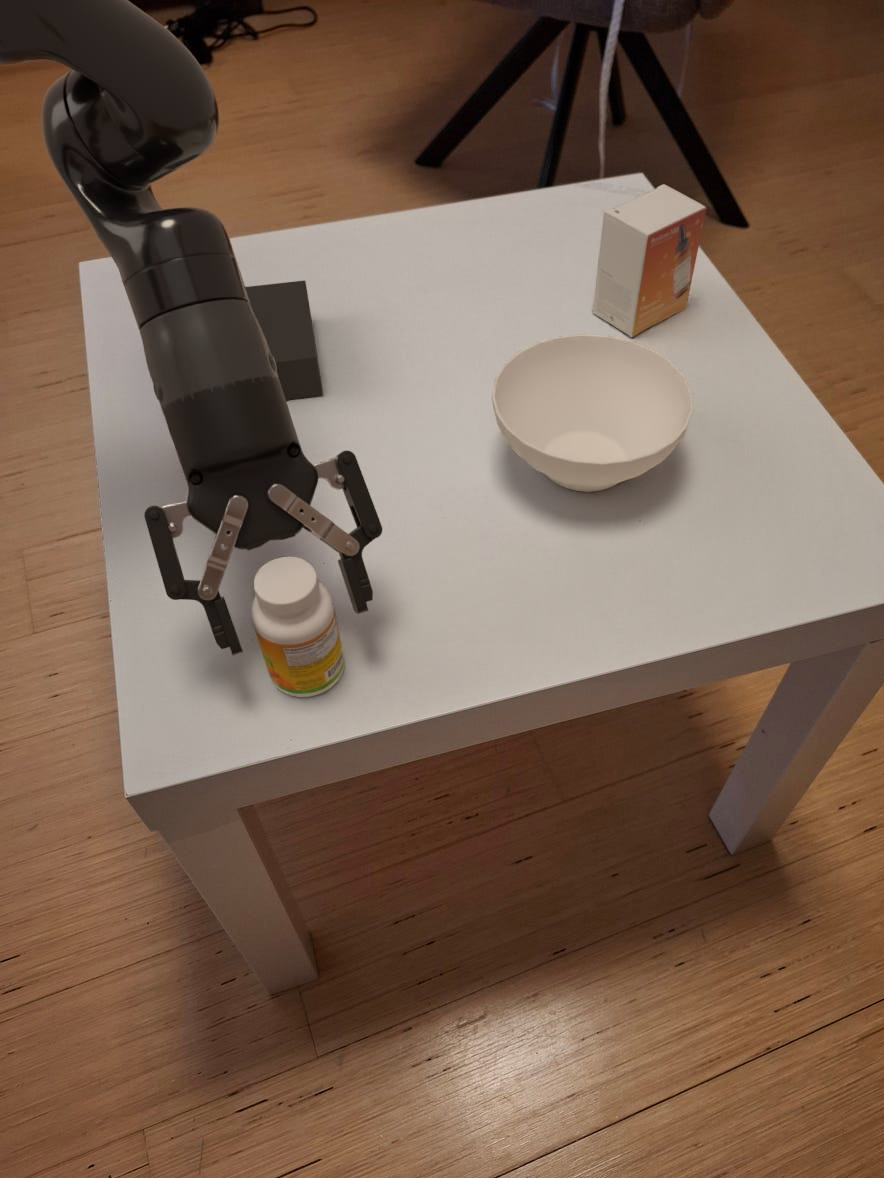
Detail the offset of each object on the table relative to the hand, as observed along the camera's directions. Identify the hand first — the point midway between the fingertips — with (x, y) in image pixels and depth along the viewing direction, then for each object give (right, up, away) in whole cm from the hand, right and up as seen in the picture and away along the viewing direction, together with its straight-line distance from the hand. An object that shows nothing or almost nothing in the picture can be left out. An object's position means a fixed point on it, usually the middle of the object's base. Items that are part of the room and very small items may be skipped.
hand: (300, 632), depth 62 cm
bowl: (+21, +15, +18) cm, 31 cm away
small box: (+28, +32, +31) cm, 52 cm away
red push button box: (-10, +25, +26) cm, 38 cm away
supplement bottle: (0, -3, +5) cm, 6 cm away
